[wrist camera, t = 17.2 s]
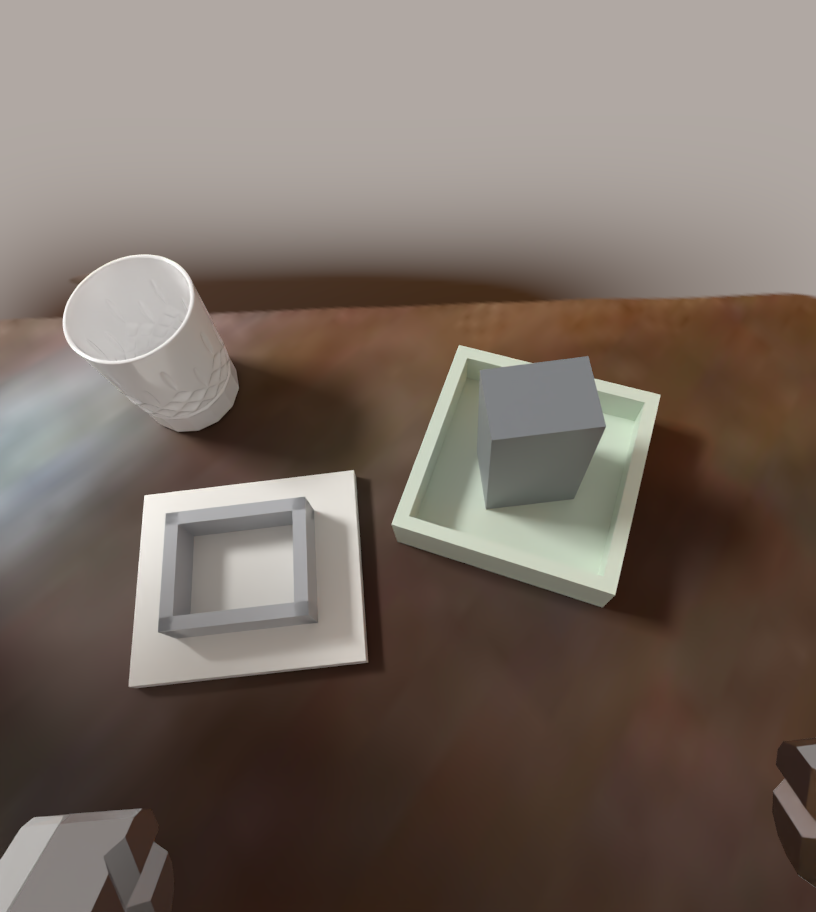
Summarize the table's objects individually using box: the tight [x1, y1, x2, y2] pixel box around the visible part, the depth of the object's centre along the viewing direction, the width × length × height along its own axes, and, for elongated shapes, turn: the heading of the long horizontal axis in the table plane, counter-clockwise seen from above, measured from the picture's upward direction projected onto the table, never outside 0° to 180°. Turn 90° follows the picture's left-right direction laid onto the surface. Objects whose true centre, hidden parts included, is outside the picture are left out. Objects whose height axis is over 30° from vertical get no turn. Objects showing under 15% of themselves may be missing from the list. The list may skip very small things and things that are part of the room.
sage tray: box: [392, 345, 660, 608], centre depth 40 cm, size 13×13×4 cm
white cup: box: [63, 255, 239, 432], centre depth 42 cm, size 8×8×10 cm
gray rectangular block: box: [477, 356, 606, 509], centre depth 36 cm, size 6×4×10 cm
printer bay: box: [129, 470, 368, 688], centre depth 39 cm, size 14×12×4 cm
